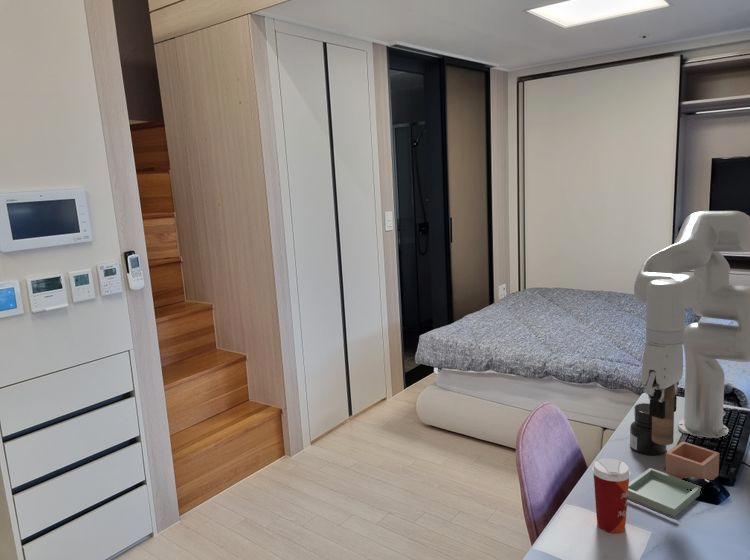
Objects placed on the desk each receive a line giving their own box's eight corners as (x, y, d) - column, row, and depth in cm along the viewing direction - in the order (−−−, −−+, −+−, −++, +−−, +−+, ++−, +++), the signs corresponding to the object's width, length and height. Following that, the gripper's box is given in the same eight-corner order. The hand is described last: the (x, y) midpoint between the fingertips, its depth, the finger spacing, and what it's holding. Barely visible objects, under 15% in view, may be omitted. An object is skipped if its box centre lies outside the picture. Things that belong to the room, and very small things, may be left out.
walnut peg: (657, 434, 132) (658, 381, 130) (676, 440, 129) (678, 386, 127) (648, 440, 130) (648, 386, 128) (667, 446, 126) (668, 391, 124)
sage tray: (650, 476, 141) (650, 467, 140) (701, 496, 131) (701, 486, 131) (621, 497, 133) (621, 487, 133) (674, 519, 124) (674, 509, 123)
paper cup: (634, 537, 119) (634, 476, 116) (595, 535, 120) (595, 474, 118) (625, 515, 126) (626, 457, 124) (589, 513, 128) (589, 456, 125)
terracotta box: (681, 464, 145) (682, 441, 144) (718, 477, 138) (719, 452, 137) (665, 477, 140) (665, 453, 139) (702, 491, 133) (703, 465, 132)
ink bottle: (636, 438, 160) (636, 398, 158) (670, 447, 154) (671, 405, 152) (624, 452, 153) (625, 411, 151) (660, 462, 147) (661, 418, 145)
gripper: (666, 325, 133) (664, 398, 136) (628, 341, 123) (627, 420, 126) (700, 330, 127) (697, 407, 130) (662, 347, 117) (661, 430, 120)
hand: (662, 412), depth 128 cm, fingers closed on walnut peg, 4 cm apart
